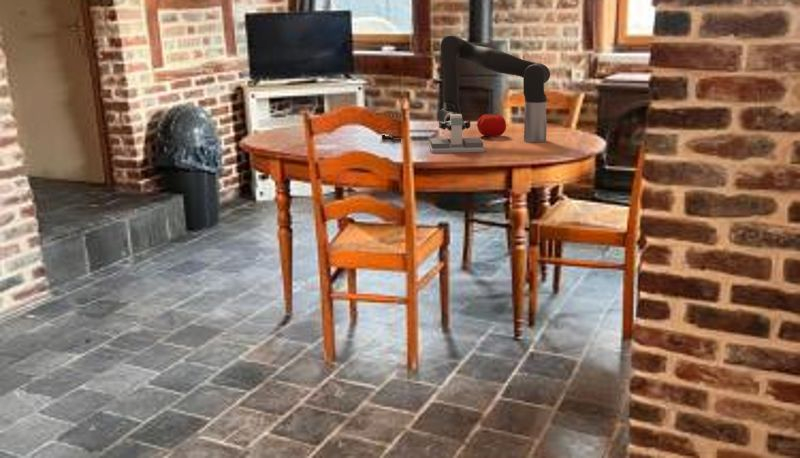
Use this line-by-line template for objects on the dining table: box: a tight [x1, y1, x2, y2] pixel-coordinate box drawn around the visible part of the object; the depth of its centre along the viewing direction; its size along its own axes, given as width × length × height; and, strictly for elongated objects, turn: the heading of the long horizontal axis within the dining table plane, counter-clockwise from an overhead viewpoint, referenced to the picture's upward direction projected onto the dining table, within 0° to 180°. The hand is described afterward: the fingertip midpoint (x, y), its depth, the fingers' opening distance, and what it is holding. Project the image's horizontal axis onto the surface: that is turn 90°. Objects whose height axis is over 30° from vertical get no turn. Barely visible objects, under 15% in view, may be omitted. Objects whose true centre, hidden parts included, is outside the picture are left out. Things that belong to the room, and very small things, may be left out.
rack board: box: [428, 137, 486, 154], centre depth 327 cm, size 22×16×4 cm
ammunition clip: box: [381, 112, 401, 141], centre depth 354 cm, size 11×2×12 cm, turn 88°
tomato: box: [476, 112, 507, 137], centre depth 356 cm, size 13×12×11 cm
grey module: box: [449, 113, 463, 145], centre depth 325 cm, size 5×5×12 cm
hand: (456, 127), depth 323 cm, fingers closed on grey module, 4 cm apart
